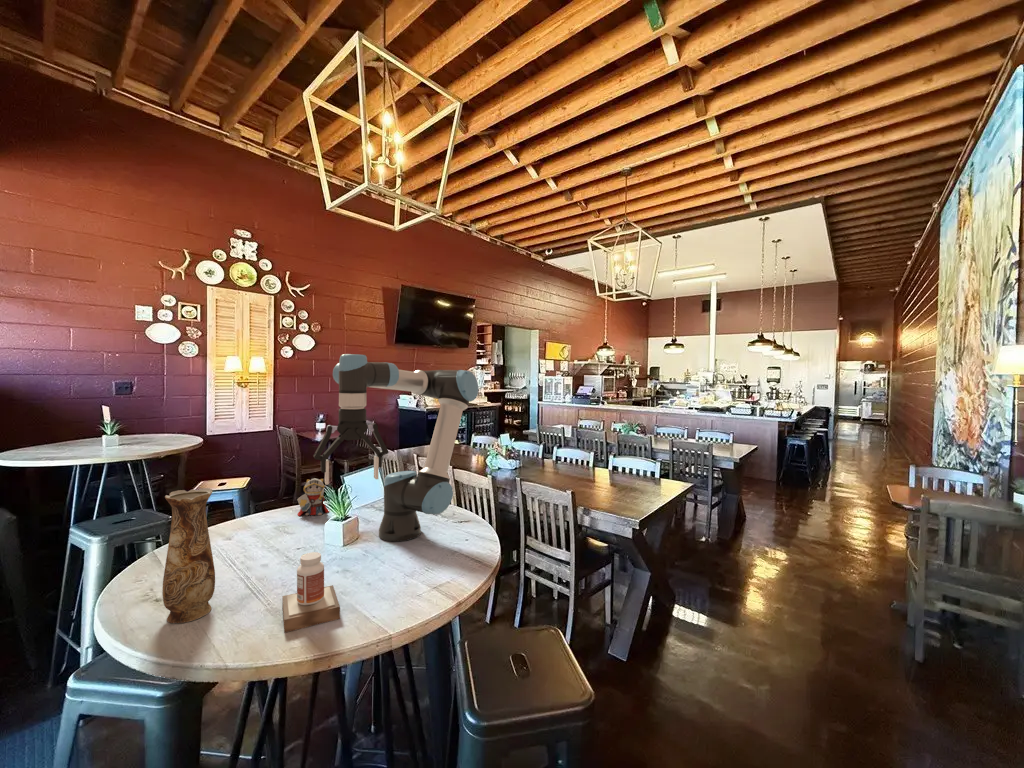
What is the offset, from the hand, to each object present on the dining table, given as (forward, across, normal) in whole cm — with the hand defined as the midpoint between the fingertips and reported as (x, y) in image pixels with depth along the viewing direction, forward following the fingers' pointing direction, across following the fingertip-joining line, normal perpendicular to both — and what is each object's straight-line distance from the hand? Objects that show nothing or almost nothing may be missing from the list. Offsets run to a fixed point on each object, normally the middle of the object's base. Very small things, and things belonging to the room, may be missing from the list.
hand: (352, 480), depth 125 cm
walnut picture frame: (+29, +12, +14) cm, 34 cm away
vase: (+29, +38, 0) cm, 48 cm away
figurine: (+29, +4, -67) cm, 73 cm away
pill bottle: (+26, +12, +14) cm, 31 cm away
